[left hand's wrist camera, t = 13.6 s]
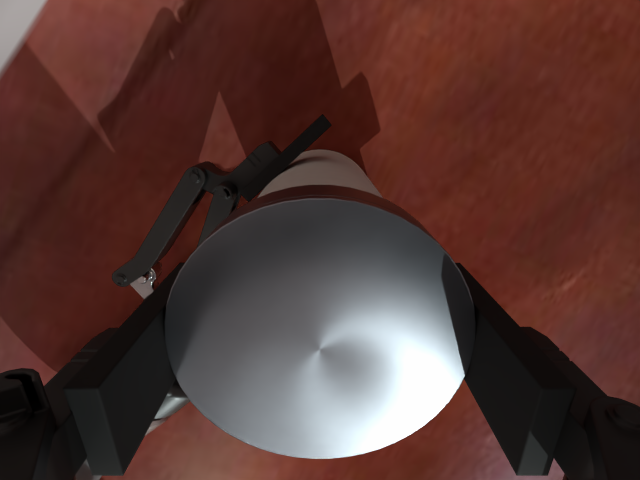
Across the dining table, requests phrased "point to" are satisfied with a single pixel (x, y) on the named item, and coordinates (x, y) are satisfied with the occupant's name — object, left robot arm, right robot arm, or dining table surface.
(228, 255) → the lid
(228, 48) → the dining table surface
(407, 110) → the dining table surface
